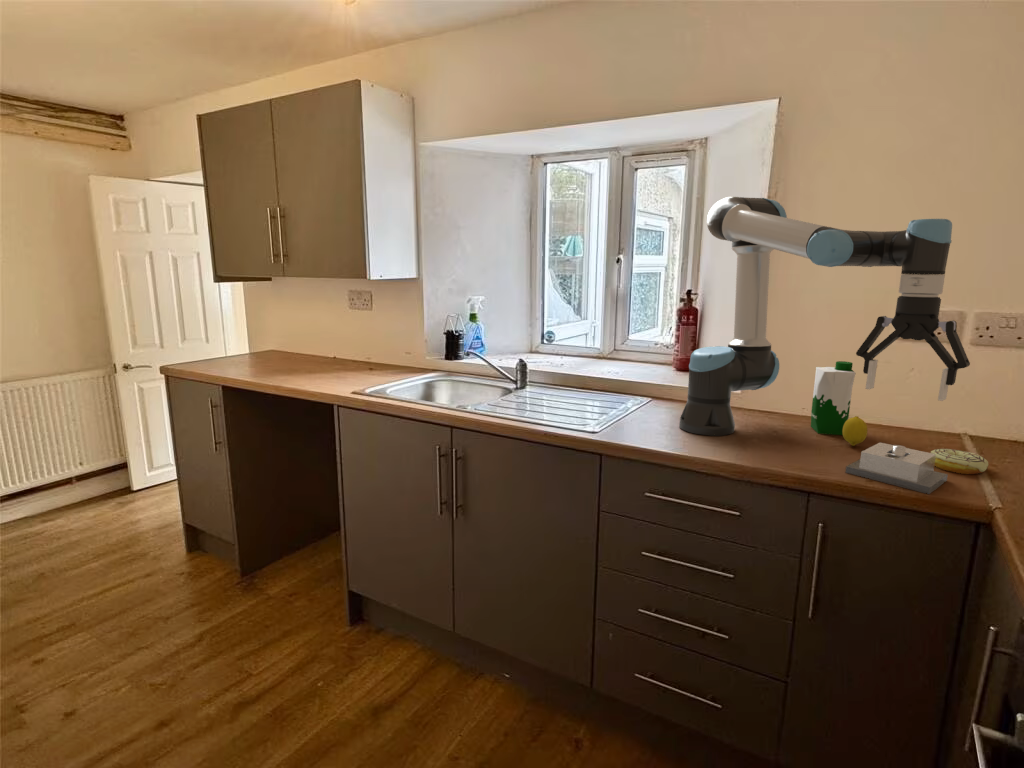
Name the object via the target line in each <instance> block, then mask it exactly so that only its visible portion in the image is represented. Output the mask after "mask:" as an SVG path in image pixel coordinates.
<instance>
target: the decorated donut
mask: <svg viewBox="0 0 1024 768" xmlns="http://www.w3.org/2000/svg"><path fill="white" fill-rule="evenodd" d="M930 453H932V454H936V458H935V465H934V467H935V466H936V467H935V468H937V469H941V470H943V471H945V470H946V472H953V473H955V472H956V474H960V473H961V474H963V475H976V474H978V473H981V474H983V473H984V472H986V470H987V469H988V467H989V461H988V460H987V459H986V458H984V457H983V456H982V455H979V454H977V453H974V452H969V451H964V450H958V449H953V448H952V449H951V448H935V449H933V450H931V451H930Z"/></svg>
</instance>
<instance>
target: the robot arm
mask: <svg viewBox="0 0 1024 768" xmlns="http://www.w3.org/2000/svg"><path fill="white" fill-rule="evenodd" d="M706 225H707V228H708V231H709V233H710V234H711V235H712V236H713V237H714V238H716V239H719V240H722V241H727V242H731V249H732V251H733V252H734V253H735V254H736V256H737V257H736V276H735V277H736V278H735V279H736V281H735V302H734V306H735V307H734V324H733V326H734V329H733V331H734V332H733V334H734V335H733V338H732V339H731V340H730V341H729V342H728V344H727V346H720V345H718V346H716V345H715V346H705V347H700V348H697V349H695V350H693V352H692V353H691V354H690V359H689V364H688V385H687V400H686V404H685V405H684V408H683V411H682V413H681V414H680V418H679V423H678V424H679V428H680V429H681V430H683V431H685V432H688V433H691V434H696V435H702V436H713V437H715V436H716V437H717V436H728V435H732V434H734V433H735V429H736V423H735V420H734V419H735V418H734V415H733V414H734V413H733V411H732V407H731V399H732V398H731V397H732V395H731V394H732V392H738V391H739V392H740V391H749V390H751V391H756V390H759V389H765V388H767V387H769V386H770V385H771V384H773V383H774V382H775V380H776V379H777V377H778V375H779V372H780V361H779V360H780V359H779V357H777V354H776V353H775V352H774V351H773V350H772V343H771V342H770V341H769V340H768V339H767V325H768V323H767V322H768V301H769V283H770V282H769V281H770V261H771V259H770V257H771V253H772V252H773V250H776V251H780V252H784V253H788V254H791V255H794V256H798V257H802V258H805V259H809V260H810V261H811V262H812V263H813V264H814V265H817V266H821V267H828V268H833V267H864V268H865V267H867V268H871V267H901V274H900V277H899V279H900V280H899V287H898V288H899V289H898V293H899V294H901V295H899V296H898V297H897V299H896V306H895V313H894V317H893V318H892V317H888V316H886V315H881V316H878V317H877V319H876V323H875V326H874V327H873V329H872V330H871V331H870V333H869V334H868V335H867V337H866V338H865V340H864V341H863V342H862V344H861V345H860V346H859V348H858V349H857V351H856V353H855V354H856V356H857V357H861V358H863V359H864V364H863V365H864V366H863V371H862V372H863V374H865V375H867V376H866V384H865V390H872V389H874V388H875V382H876V374H877V367H878V362H879V360H878V359H875V358H876V357H877V356H878V355H879V354H880V353H882V352H883V351H885V350H886V349H887V348H888V347H889V346H891V345H892V344H893V343H894V342H896V340H898V339H900V338H901V339H902V340H910V339H911V340H914V341H923V340H924V341H925V342H926V343H928V345H929V346H930V347H931V348H932V350H933V351H934V352H935V354H936V355H937V356H938V357H939V358H940V360H941V361H942V362H943V364H944V365H945V366H946V368H943V369H942V373H941V378H940V384H939V390H938V397H937V401H941V402H943V401H945V400H947V396H948V390H949V386H952V385H955V383H956V380H957V379H956V378H957V372H958V371H959V369H965V368H968V367H970V365H971V362H970V360H969V358H968V355H967V353H966V350H965V348H964V346H963V344H962V342H961V340H960V337H959V335H958V332H957V328H958V327H957V320H954V319H953V320H949V321H940V320H939V316H940V309H941V308H940V307H941V302H942V299H941V297H940V296H939V295H942V294H943V291H944V290H943V289H944V284H945V277H946V269H947V264H948V263H947V262H948V256H949V252H950V246H951V244H952V233H953V232H952V231H953V222H952V221H951V220H950V219H947V218H920V219H913V220H910V221H909V223H908V225H907V228H906V230H898V231H897V230H896V231H895V230H894V231H891V230H890V231H875V230H874V231H873V230H850V229H849V230H847V229H840V228H836V227H831V226H826V225H821V224H817V223H813V222H812V223H811V222H809V221H808V222H806V221H802V220H798V219H797V220H796V219H793V218H788V217H787V212H786V210H785V208H784V207H783V205H782V204H780V202H778V201H777V200H774V199H769V198H765V197H744V196H743V197H741V196H727V197H724V198H722V199H720V200H718V201H716V202H715V203H714V204H713V205H712V206H711V208H710V209H709V211H708V214H707V217H706ZM890 324H891V325H892V327H893V328H894V330H893V331H892V332H891V333H890V334H889V335H888V336H886V338H884V339H883V340H882V341H881V342H880V343H879V344H877V345H876V346H875V347H874V348H872V346H873V344H874V343H876V340H878V338H879V336H880V335H881V334H882V332H883V331H884V329H885V328H886V327H889V325H890ZM939 328H941V330H942V332H944V333H945V335H946V337H947V340H948V343H949V344H950V347H951V350H952V352H953V354H954V356H955V359H956V360H955V359H954V357H953V356H952V355H951V353H950V352H949V351H948V350H947V348H946V347H945V346H944V345H943V343H942V342H941V341H940V340H939V338H938V336H937V335H936V333H935V331H936V330H937V329H939ZM871 348H872V349H871ZM870 349H871V350H870ZM869 350H870V351H869Z"/></svg>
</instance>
